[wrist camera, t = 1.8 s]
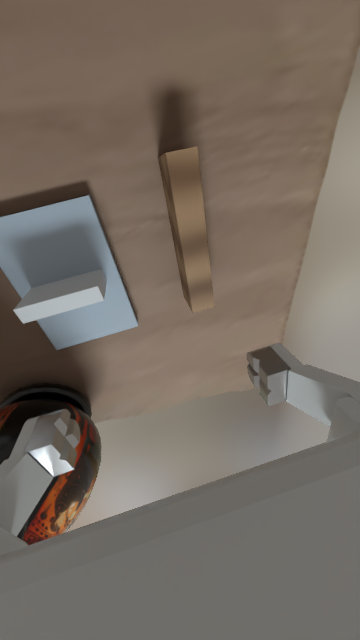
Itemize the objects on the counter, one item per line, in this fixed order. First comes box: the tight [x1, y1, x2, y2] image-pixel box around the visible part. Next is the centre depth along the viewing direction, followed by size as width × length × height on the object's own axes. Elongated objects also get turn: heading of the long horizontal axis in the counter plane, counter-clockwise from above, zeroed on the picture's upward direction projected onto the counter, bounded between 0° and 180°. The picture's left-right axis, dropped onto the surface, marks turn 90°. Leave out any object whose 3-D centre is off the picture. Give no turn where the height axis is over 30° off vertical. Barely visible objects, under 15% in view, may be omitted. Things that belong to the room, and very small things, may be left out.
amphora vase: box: [0, 384, 101, 546], centre depth 34 cm, size 22×22×28 cm
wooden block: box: [158, 146, 214, 313], centre depth 32 cm, size 20×4×6 cm, turn 10°
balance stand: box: [0, 195, 138, 350], centre depth 30 cm, size 20×14×8 cm
